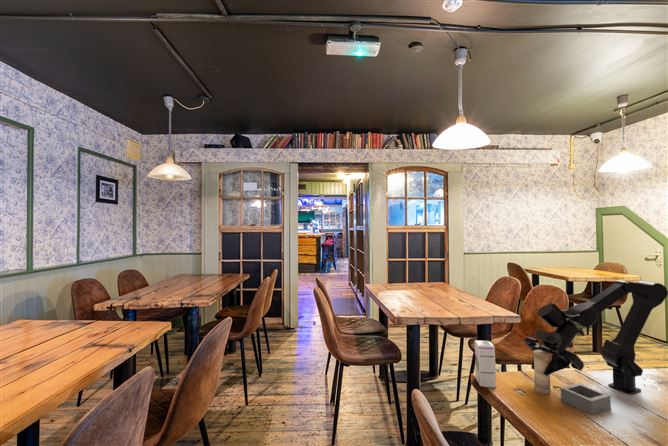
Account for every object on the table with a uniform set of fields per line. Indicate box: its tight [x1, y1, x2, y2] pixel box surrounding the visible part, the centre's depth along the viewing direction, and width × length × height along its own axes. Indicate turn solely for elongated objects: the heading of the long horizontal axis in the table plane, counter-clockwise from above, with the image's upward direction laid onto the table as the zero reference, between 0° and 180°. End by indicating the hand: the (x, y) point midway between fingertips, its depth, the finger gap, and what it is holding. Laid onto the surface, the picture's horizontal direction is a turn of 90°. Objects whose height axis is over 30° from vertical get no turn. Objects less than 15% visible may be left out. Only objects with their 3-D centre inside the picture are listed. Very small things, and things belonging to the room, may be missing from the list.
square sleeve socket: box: [560, 382, 612, 416], centre depth 98 cm, size 9×9×4 cm
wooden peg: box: [533, 350, 551, 395], centre depth 107 cm, size 4×4×13 cm
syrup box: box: [474, 339, 497, 388], centre depth 113 cm, size 6×6×14 cm
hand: (538, 371), depth 107 cm, fingers closed on wooden peg, 4 cm apart
